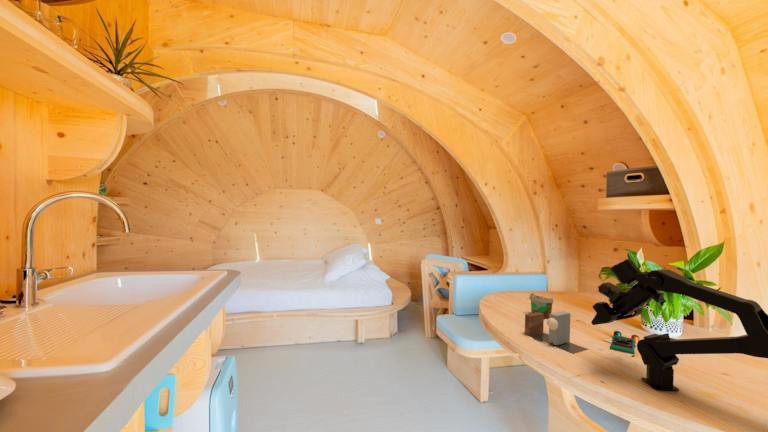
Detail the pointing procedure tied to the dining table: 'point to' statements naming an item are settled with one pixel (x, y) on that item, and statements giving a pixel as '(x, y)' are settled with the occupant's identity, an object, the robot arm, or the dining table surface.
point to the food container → (541, 305)
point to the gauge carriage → (559, 328)
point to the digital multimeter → (623, 344)
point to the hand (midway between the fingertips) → (599, 322)
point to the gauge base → (565, 346)
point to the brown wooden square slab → (534, 323)
